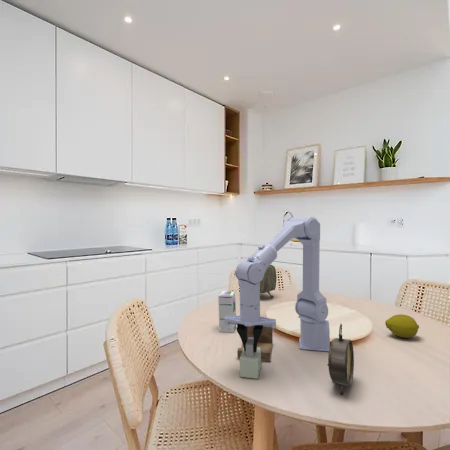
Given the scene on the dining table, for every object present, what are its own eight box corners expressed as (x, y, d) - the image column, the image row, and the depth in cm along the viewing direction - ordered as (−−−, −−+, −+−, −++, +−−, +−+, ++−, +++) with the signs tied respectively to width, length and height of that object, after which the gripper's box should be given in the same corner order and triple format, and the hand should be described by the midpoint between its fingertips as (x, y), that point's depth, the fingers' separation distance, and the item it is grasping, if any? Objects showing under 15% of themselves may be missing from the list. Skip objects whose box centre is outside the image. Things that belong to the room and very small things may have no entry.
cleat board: (272, 343, 101) (272, 324, 100) (269, 362, 89) (269, 339, 88) (244, 341, 103) (243, 322, 103) (237, 358, 91) (237, 336, 91)
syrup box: (233, 332, 111) (233, 295, 110) (218, 331, 112) (218, 294, 111) (236, 327, 116) (235, 291, 116) (221, 326, 117) (221, 290, 117)
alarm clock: (348, 399, 70) (348, 333, 70) (325, 392, 73) (324, 329, 73) (355, 377, 80) (355, 318, 79) (334, 372, 83) (334, 315, 82)
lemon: (416, 334, 107) (416, 312, 106) (423, 343, 99) (423, 320, 99) (383, 330, 110) (383, 310, 110) (387, 339, 103) (387, 317, 102)
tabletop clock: (276, 298, 154) (276, 251, 153) (265, 302, 147) (265, 253, 146) (255, 293, 164) (255, 249, 163) (244, 296, 158) (244, 250, 157)
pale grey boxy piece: (261, 363, 87) (260, 335, 87) (258, 378, 79) (257, 348, 79) (244, 362, 88) (244, 334, 88) (239, 376, 81) (239, 346, 80)
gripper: (221, 306, 81) (222, 354, 81) (274, 309, 78) (275, 359, 78) (227, 299, 88) (228, 343, 88) (276, 301, 84) (276, 347, 85)
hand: (250, 350), depth 84 cm, fingers closed on pale grey boxy piece
